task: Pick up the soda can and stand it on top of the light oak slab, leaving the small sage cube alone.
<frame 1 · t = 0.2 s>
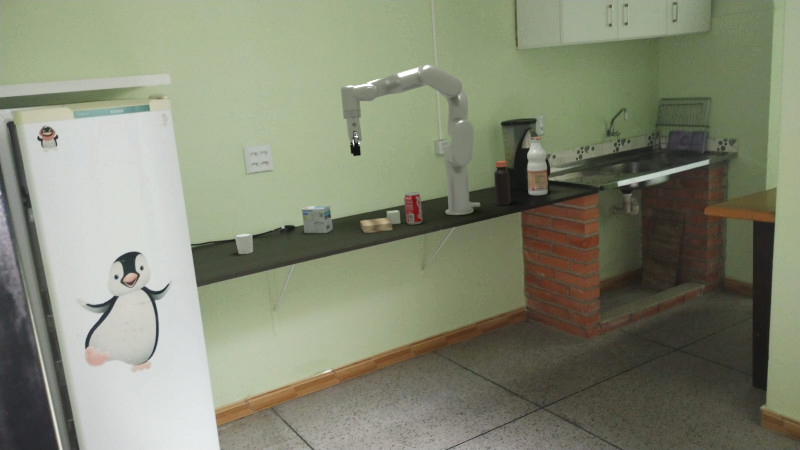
hand: (355, 154, 296), 31 cm above the worktop, tool pointing down, fingers open, 9 cm apart
slab: (376, 228, 291), on the worktop
fruit juice: (538, 194, 338), on the worktop
white cup: (245, 252, 269), on the worktop
light bulb box: (318, 232, 295), on the worktop
bottle: (503, 204, 320), on the worktop
soda can: (414, 223, 295), on the worktop
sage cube: (393, 222, 300), on the worktop
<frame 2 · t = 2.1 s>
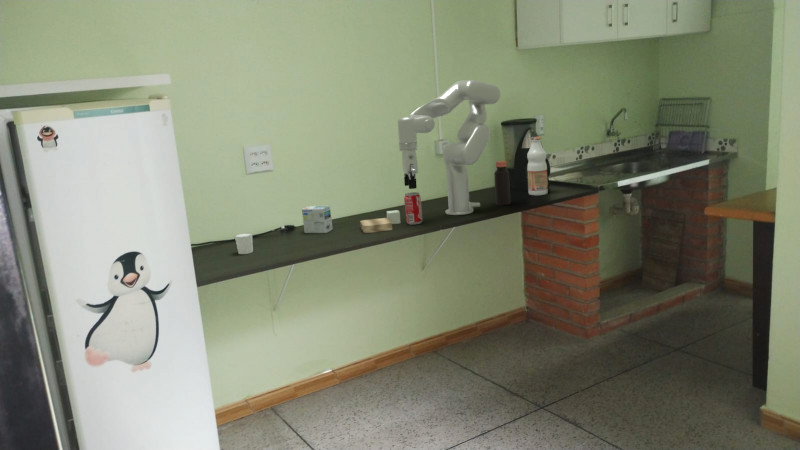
hand: (410, 187, 292), 16 cm above the worktop, tool pointing down, fingers open, 9 cm apart
nothing on the worktop moved.
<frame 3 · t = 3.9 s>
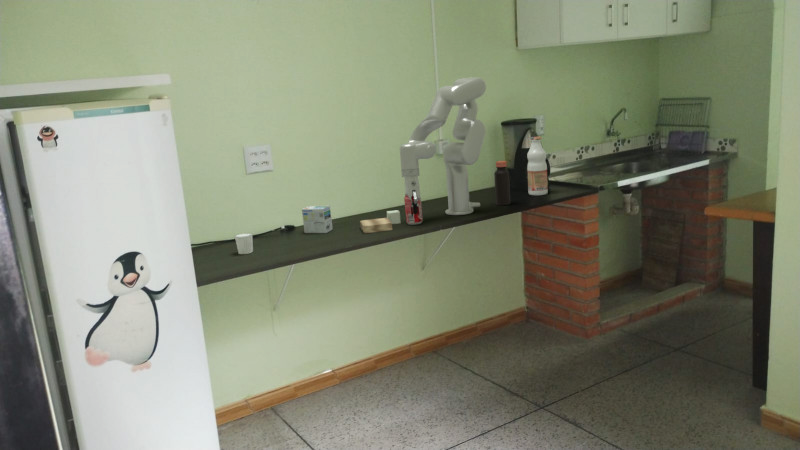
hand: (413, 213, 295), 4 cm above the worktop, tool pointing down, fingers closed on soda can, 6 cm apart
soda can: (414, 223, 295), on the worktop, touching gripper
everything else where it was.
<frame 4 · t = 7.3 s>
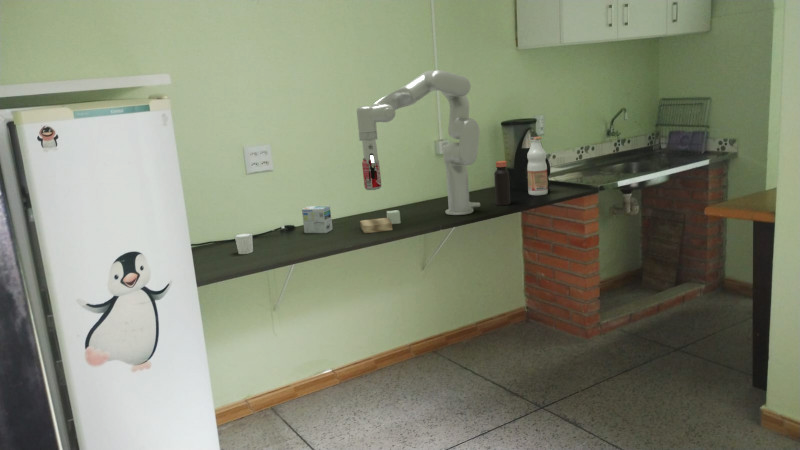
hand: (372, 179, 286), 21 cm above the worktop, tool pointing down, fingers closed on soda can, 6 cm apart
soda can: (373, 189, 287), point 17 cm above the worktop, touching gripper
everything else where it was.
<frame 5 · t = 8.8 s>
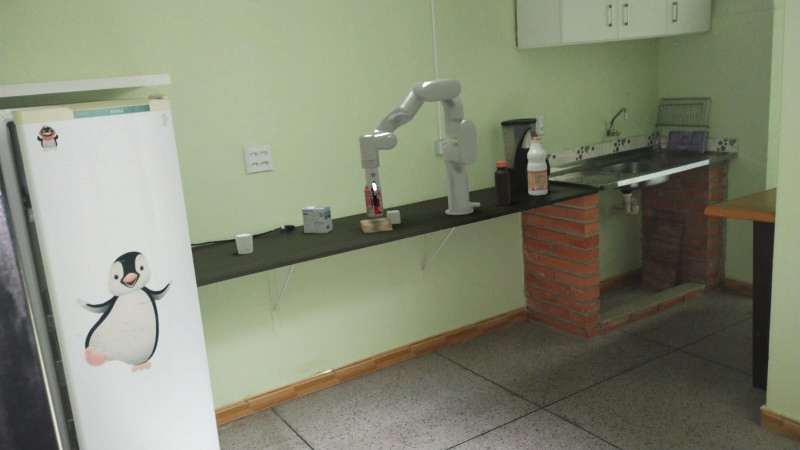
hand: (374, 205, 289), 10 cm above the worktop, tool pointing down, fingers closed on soda can, 6 cm apart
soda can: (375, 216, 289), point 6 cm above the worktop, touching gripper
everything else where it was.
when the fingers open (7 cm above the worktop, at t = 10.4 s): soda can stays where it is, resting on slab.
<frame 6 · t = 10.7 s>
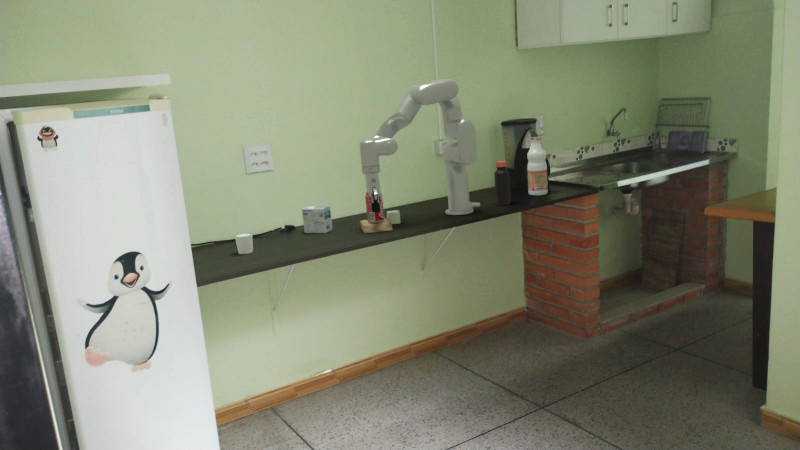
hand: (374, 209, 289), 8 cm above the worktop, tool pointing down, fingers open, 9 cm apart
soda can: (376, 222, 290), point 3 cm above the worktop, touching slab
everything else where it was.
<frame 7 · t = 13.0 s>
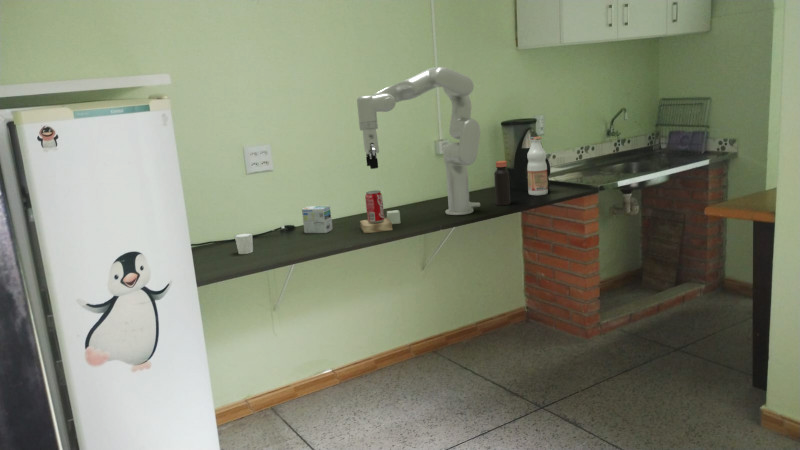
hand: (372, 167, 286), 26 cm above the worktop, tool pointing down, fingers open, 9 cm apart
nothing on the worktop moved.
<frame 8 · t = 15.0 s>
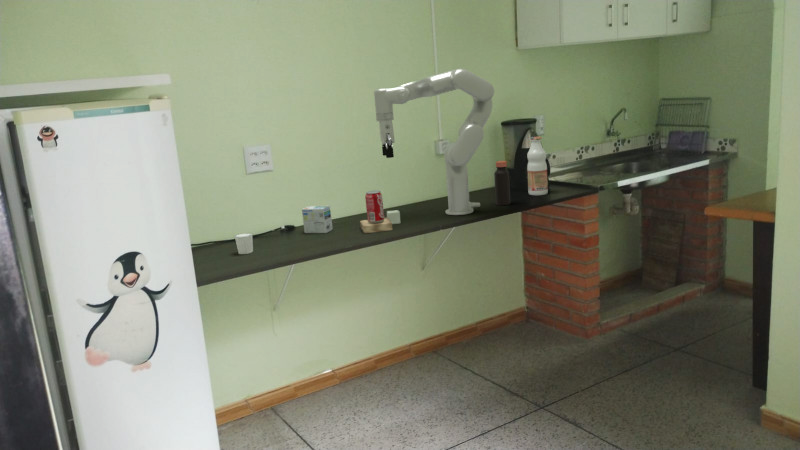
hand: (388, 156, 301), 28 cm above the worktop, tool pointing down, fingers open, 9 cm apart
nothing on the worktop moved.
at the end: soda can inside the target area on the slab (0.4 cm from its centre), point 2.8 cm above the slab's base; soda can tilted 0°; the gripper is holding nothing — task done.
